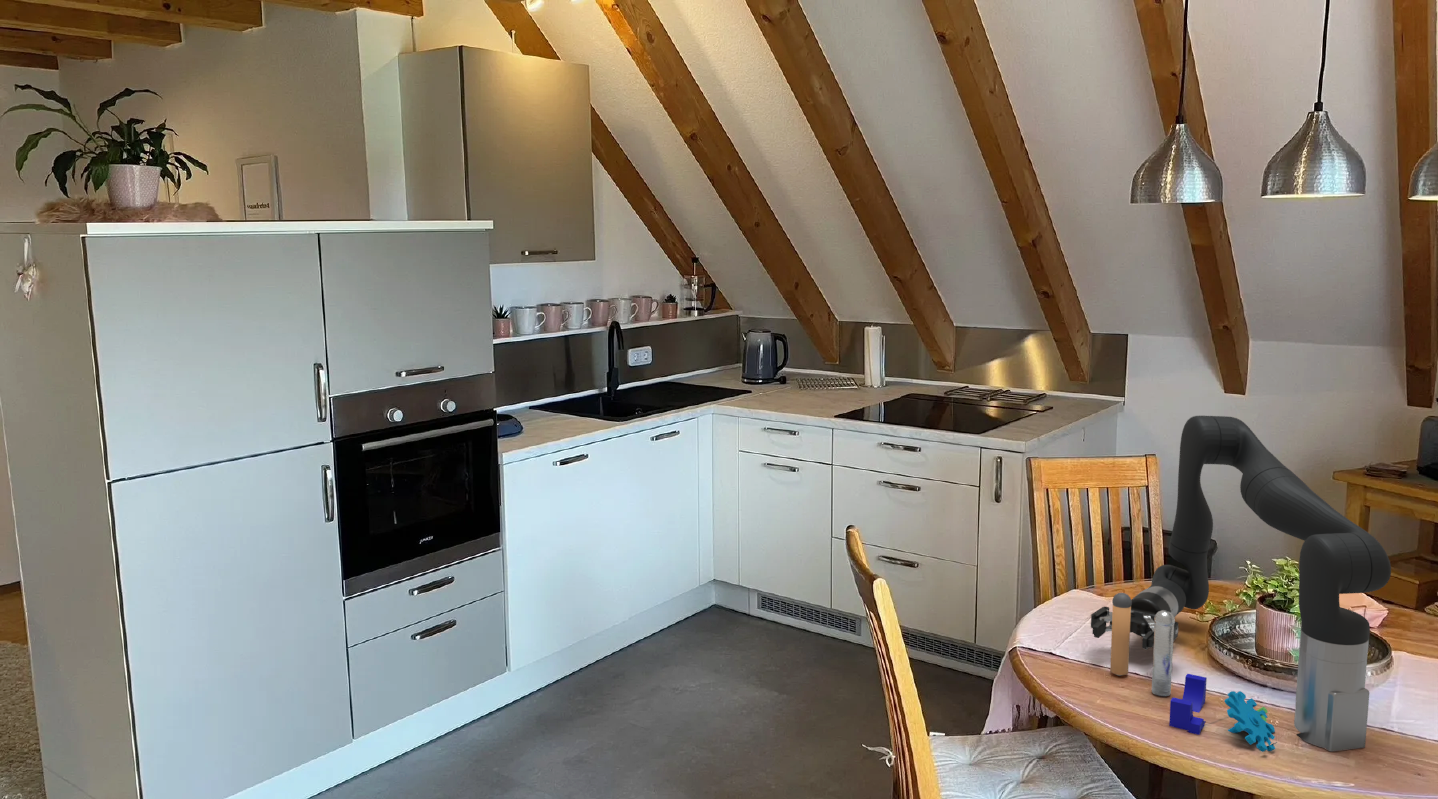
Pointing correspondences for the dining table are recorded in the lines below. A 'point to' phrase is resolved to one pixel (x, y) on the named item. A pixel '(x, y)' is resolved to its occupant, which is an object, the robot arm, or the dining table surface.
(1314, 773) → the dining table surface
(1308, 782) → the dining table surface
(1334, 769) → the dining table surface
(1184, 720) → the cable clip
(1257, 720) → the gear
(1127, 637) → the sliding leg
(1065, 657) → the dining table surface
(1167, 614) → the fixed leg
